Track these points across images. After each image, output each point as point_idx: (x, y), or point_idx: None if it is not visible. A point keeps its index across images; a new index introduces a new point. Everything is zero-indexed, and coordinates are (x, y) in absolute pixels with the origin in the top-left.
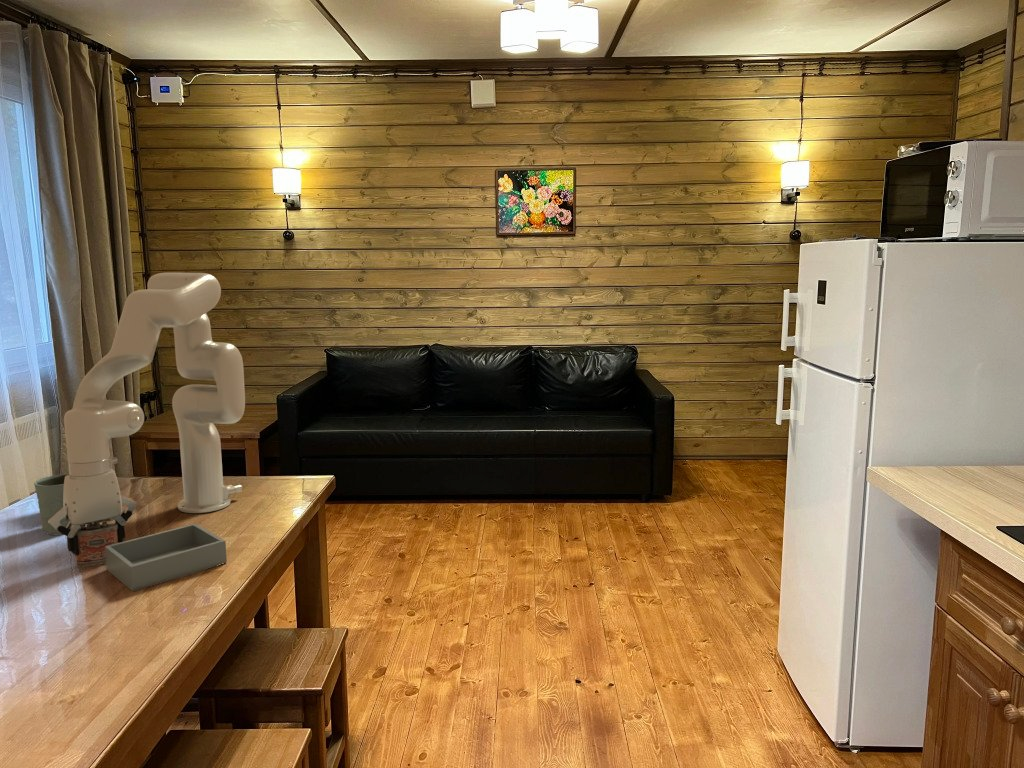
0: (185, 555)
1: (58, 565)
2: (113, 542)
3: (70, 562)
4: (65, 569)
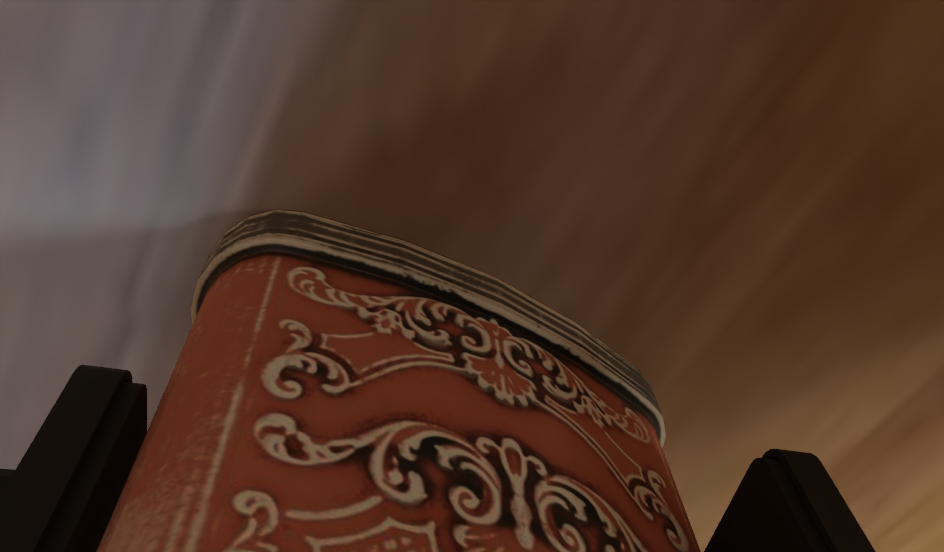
0: None
1: (2, 48)
2: None
3: (180, 86)
4: (50, 268)
